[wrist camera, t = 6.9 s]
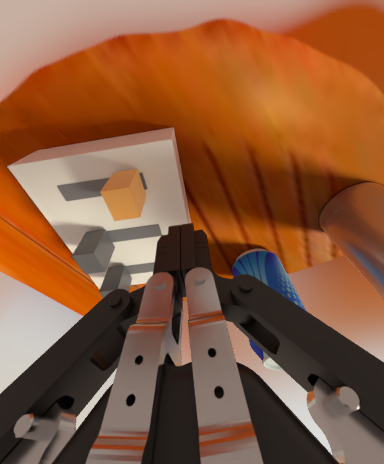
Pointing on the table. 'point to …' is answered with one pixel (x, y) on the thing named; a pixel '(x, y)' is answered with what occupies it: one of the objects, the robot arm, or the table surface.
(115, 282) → the block
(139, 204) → the block
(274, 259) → the beer can
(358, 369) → the robot arm
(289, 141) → the table surface
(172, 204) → the breaker panel
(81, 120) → the table surface
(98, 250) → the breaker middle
